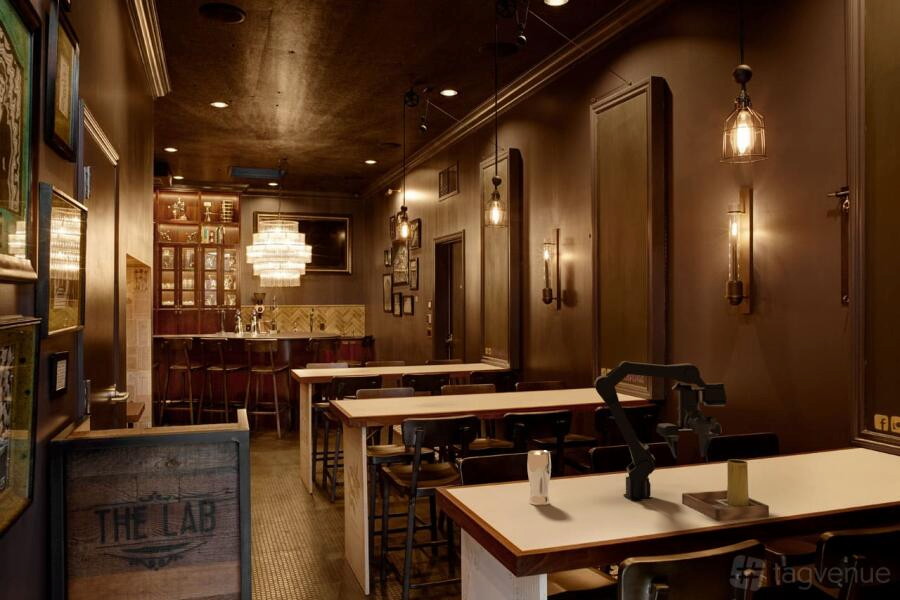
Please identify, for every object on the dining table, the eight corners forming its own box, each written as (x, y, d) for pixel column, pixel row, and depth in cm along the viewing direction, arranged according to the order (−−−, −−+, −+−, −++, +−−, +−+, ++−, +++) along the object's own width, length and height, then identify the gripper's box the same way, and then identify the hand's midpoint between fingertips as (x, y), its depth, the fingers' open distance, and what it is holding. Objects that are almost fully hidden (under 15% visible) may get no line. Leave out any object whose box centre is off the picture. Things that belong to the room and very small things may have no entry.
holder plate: (734, 518, 184) (734, 509, 184) (714, 508, 193) (714, 500, 193) (763, 515, 186) (763, 506, 186) (742, 506, 195) (742, 498, 195)
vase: (732, 507, 194) (731, 457, 194) (753, 512, 189) (753, 461, 189) (722, 512, 190) (721, 461, 190) (744, 516, 185) (743, 464, 185)
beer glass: (532, 507, 197) (532, 455, 197) (524, 500, 203) (523, 450, 204) (554, 505, 199) (554, 454, 199) (545, 498, 205) (545, 449, 206)
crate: (717, 522, 182) (717, 509, 182) (682, 505, 198) (682, 493, 198) (768, 518, 185) (768, 505, 185) (730, 501, 202) (730, 489, 202)
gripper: (675, 410, 194) (676, 464, 193) (732, 407, 198) (733, 461, 198) (655, 405, 205) (656, 456, 204) (710, 403, 209) (710, 453, 208)
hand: (689, 457), depth 203 cm, fingers open, 9 cm apart
